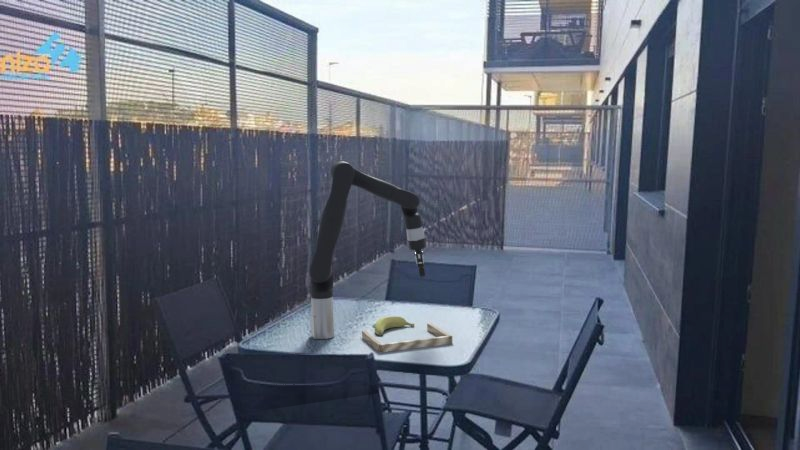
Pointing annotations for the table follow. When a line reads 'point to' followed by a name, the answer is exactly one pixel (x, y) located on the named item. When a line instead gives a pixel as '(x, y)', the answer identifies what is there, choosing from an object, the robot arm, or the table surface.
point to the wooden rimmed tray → (410, 341)
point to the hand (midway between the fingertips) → (422, 273)
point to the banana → (390, 323)
